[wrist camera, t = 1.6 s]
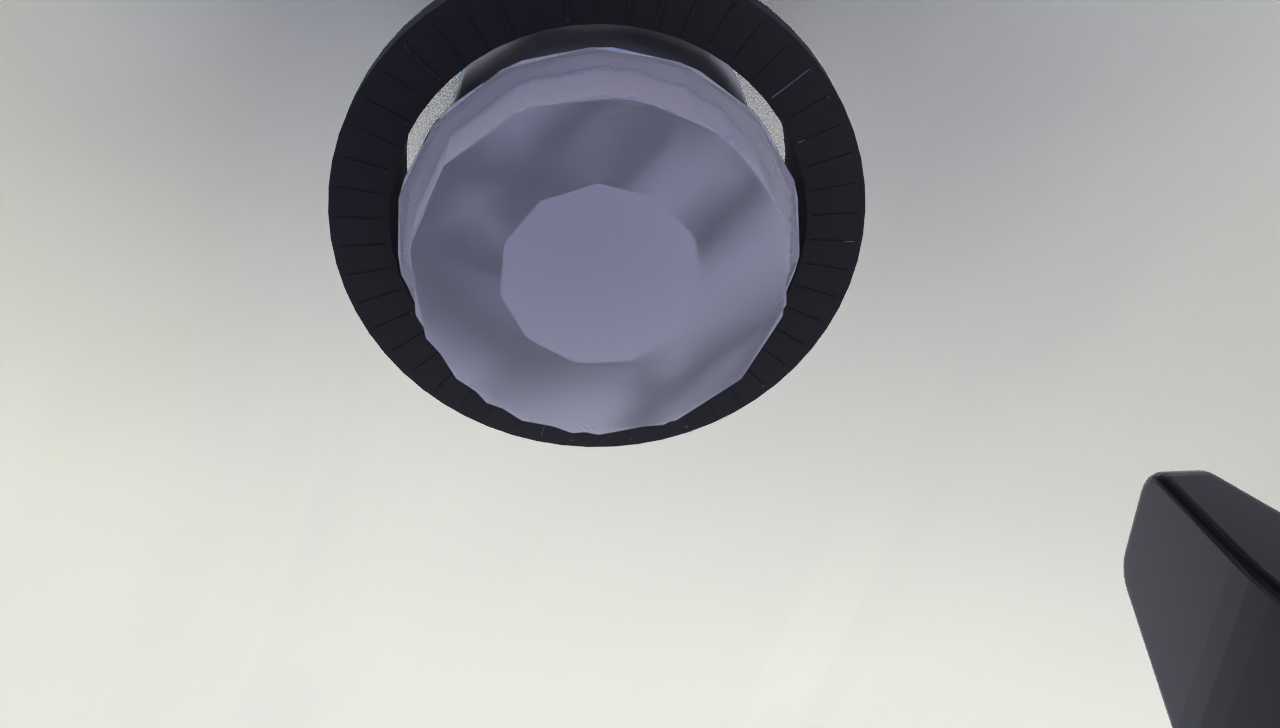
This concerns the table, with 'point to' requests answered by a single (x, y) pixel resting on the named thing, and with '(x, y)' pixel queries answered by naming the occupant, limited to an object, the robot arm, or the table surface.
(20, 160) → the table surface
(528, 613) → the table surface
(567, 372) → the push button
